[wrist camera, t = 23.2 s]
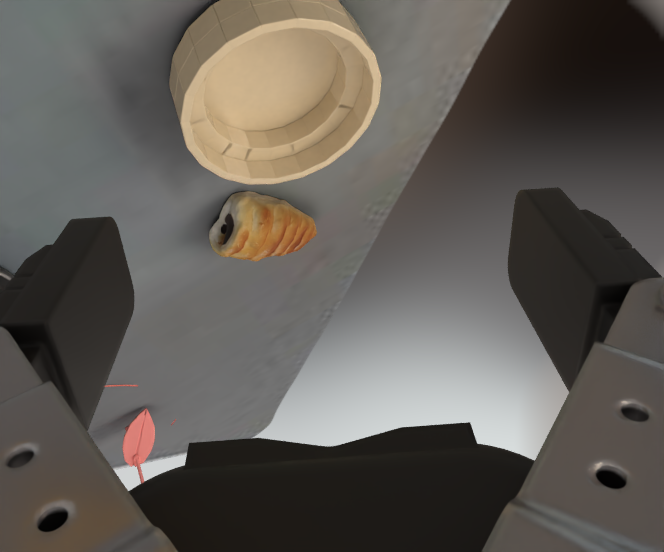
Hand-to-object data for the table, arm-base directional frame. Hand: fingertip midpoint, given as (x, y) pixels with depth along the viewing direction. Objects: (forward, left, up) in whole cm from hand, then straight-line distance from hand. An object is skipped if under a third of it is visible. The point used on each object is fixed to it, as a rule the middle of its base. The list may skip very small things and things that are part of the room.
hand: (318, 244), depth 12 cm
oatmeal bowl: (+5, -18, -27) cm, 32 cm away
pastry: (+3, -33, -27) cm, 42 cm away
